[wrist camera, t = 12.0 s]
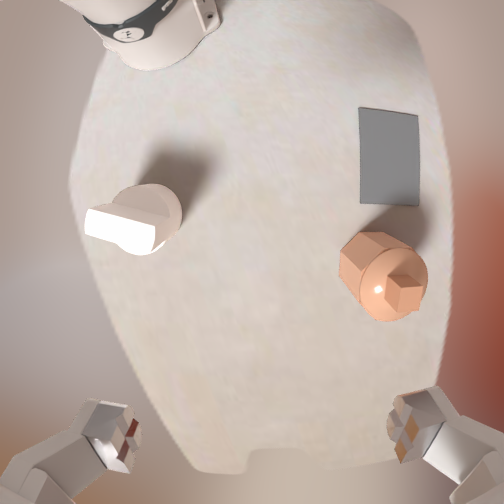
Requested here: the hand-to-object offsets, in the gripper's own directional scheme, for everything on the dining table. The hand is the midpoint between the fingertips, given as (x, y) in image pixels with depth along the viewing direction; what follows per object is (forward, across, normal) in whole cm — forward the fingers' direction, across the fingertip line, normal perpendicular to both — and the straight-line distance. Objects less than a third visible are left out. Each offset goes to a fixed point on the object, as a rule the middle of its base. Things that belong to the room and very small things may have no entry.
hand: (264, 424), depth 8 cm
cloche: (+35, -17, +7) cm, 39 cm away
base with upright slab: (+36, +15, -1) cm, 39 cm away
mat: (+35, -20, -8) cm, 42 cm away
